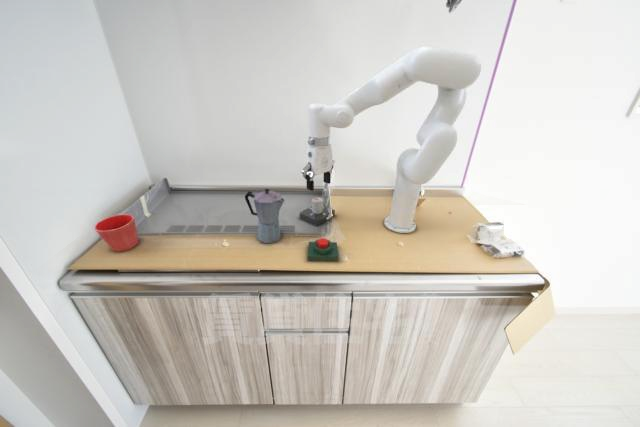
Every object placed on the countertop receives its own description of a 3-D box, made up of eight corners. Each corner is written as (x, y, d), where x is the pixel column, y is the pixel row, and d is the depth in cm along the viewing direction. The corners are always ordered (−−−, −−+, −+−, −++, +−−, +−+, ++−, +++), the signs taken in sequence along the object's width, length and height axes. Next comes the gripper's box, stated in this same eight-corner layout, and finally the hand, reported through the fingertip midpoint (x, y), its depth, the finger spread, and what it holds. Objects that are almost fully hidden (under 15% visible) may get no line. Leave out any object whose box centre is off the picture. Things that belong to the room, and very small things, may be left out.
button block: (336, 247, 87) (337, 238, 85) (337, 261, 80) (338, 252, 78) (308, 246, 87) (308, 237, 85) (307, 261, 80) (307, 251, 78)
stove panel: (317, 208, 112) (317, 202, 111) (334, 216, 107) (335, 209, 105) (299, 218, 104) (299, 212, 103) (317, 226, 99) (317, 220, 97)
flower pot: (101, 257, 80) (88, 233, 75) (112, 239, 88) (101, 216, 84) (139, 250, 83) (128, 227, 78) (146, 234, 92) (137, 211, 87)
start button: (328, 242, 83) (328, 238, 82) (328, 248, 80) (328, 244, 79) (317, 242, 83) (317, 238, 82) (317, 248, 80) (317, 244, 79)
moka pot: (283, 247, 86) (279, 196, 76) (243, 241, 89) (235, 192, 79) (291, 232, 94) (289, 185, 85) (254, 228, 97) (248, 181, 87)
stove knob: (325, 210, 104) (325, 198, 101) (318, 215, 101) (318, 202, 98) (316, 207, 107) (317, 195, 104) (309, 211, 104) (309, 199, 101)
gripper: (310, 147, 77) (310, 195, 86) (342, 139, 89) (340, 182, 97) (294, 143, 82) (296, 189, 90) (326, 136, 93) (325, 178, 101)
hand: (318, 186), depth 94 cm, fingers open, 9 cm apart
